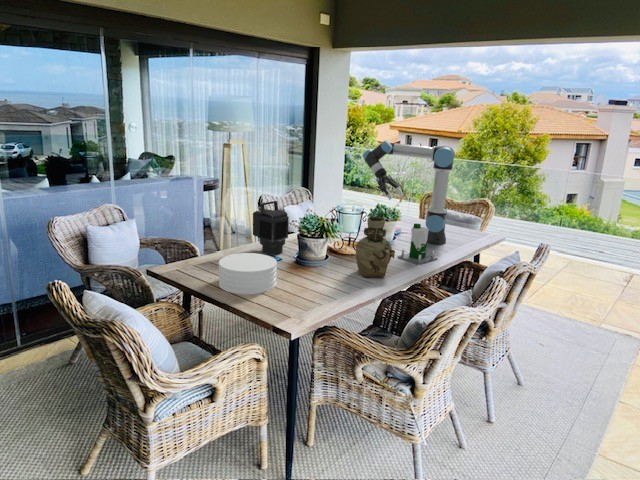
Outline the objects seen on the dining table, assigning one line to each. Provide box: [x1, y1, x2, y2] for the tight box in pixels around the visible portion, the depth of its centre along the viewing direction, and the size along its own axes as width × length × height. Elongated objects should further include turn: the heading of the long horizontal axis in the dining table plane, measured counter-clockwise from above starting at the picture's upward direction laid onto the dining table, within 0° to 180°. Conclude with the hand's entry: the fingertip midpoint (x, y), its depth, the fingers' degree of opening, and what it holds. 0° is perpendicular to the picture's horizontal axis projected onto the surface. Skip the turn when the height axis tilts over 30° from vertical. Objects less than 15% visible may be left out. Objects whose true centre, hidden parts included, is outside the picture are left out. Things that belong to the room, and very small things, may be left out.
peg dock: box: [396, 248, 438, 266], centre depth 288 cm, size 18×16×5 cm
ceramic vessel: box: [355, 216, 396, 279], centre depth 256 cm, size 19×21×30 cm
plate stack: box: [218, 252, 278, 295], centre depth 235 cm, size 28×28×12 cm
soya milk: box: [409, 223, 429, 259], centre depth 285 cm, size 9×9×20 cm
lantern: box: [252, 200, 290, 256], centre depth 285 cm, size 15×18×30 cm
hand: (396, 197), depth 308 cm, fingers open, 13 cm apart
